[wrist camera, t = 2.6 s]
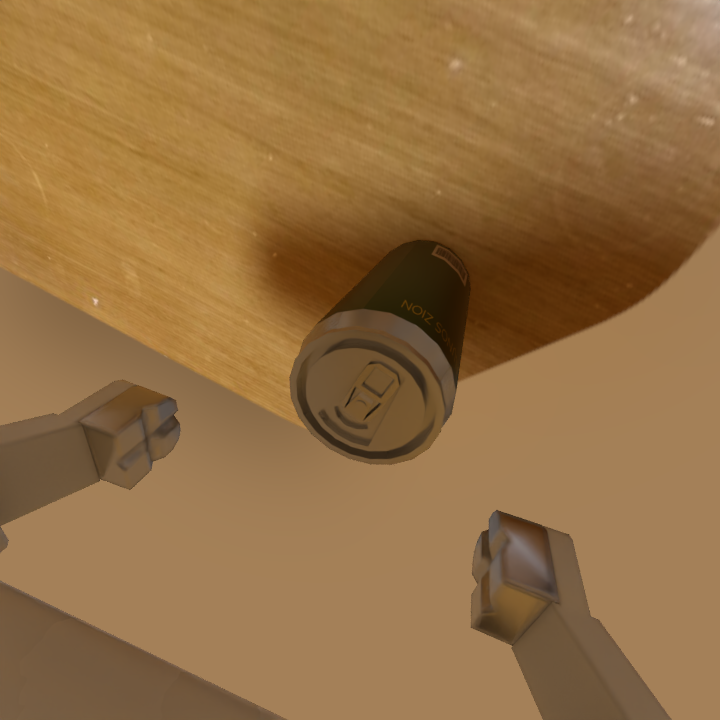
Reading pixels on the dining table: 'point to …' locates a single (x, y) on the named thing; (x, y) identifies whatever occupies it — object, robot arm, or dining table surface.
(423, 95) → the dining table surface
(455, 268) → the beer can
